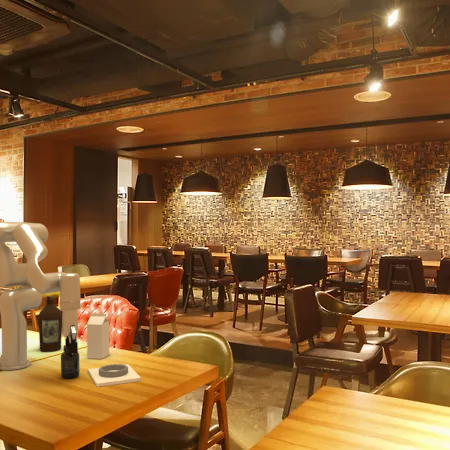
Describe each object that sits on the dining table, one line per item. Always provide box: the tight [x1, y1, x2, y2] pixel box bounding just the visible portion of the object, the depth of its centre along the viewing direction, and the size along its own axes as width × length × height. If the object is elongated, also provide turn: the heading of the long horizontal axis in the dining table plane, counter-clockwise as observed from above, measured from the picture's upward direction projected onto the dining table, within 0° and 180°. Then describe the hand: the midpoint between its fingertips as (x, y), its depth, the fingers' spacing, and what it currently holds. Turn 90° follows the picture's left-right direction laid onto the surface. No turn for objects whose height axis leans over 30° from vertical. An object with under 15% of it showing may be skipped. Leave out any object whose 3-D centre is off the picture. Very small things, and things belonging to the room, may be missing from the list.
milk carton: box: [86, 313, 110, 360], centre depth 217 cm, size 7×7×19 cm
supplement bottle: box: [60, 344, 81, 380], centre depth 188 cm, size 7×7×12 cm
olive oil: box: [37, 295, 63, 353], centre depth 231 cm, size 11×11×25 cm
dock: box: [87, 363, 142, 388], centre depth 188 cm, size 16×20×3 cm
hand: (71, 350), depth 188 cm, fingers open, 9 cm apart
